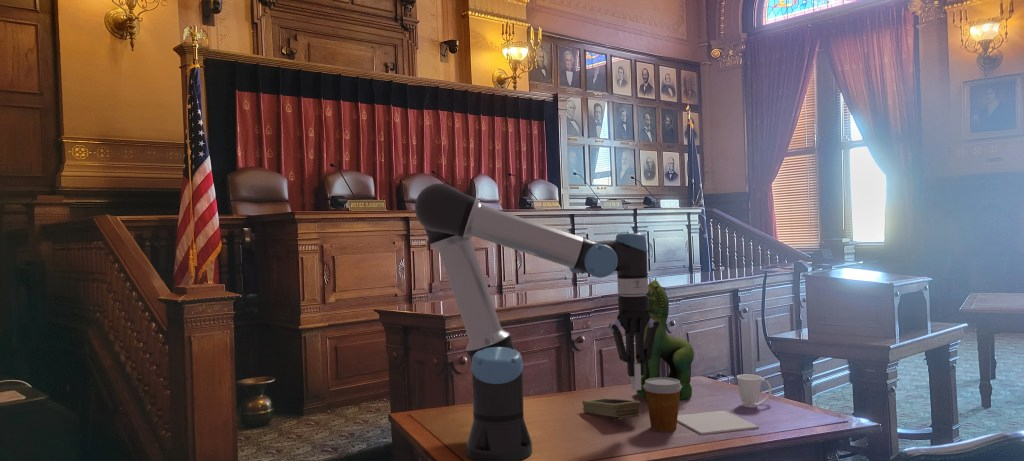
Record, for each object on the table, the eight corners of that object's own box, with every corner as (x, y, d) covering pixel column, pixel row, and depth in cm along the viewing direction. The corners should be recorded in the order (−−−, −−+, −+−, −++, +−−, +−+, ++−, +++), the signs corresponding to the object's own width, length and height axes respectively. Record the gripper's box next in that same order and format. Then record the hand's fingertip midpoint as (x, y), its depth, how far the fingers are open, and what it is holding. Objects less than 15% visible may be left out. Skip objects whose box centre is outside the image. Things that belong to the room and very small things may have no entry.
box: (616, 424, 182) (614, 404, 183) (576, 418, 202) (574, 400, 203) (644, 420, 185) (642, 400, 186) (601, 415, 205) (600, 397, 206)
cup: (732, 403, 205) (731, 374, 205) (765, 400, 206) (764, 372, 206) (743, 409, 198) (743, 380, 198) (777, 407, 199) (777, 377, 199)
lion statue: (631, 393, 219) (628, 279, 219) (682, 390, 222) (679, 277, 222) (646, 404, 206) (643, 282, 205) (701, 400, 209) (698, 280, 208)
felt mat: (701, 434, 176) (701, 432, 176) (670, 418, 191) (670, 416, 191) (758, 428, 180) (758, 426, 180) (724, 412, 195) (724, 410, 195)
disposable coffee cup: (639, 431, 180) (638, 383, 180) (650, 421, 188) (649, 375, 188) (677, 435, 176) (676, 386, 175) (687, 425, 184) (686, 378, 184)
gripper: (614, 297, 174) (617, 394, 175) (663, 294, 178) (666, 389, 178) (603, 295, 182) (606, 388, 182) (650, 292, 185) (653, 383, 185)
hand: (636, 388), depth 180 cm, fingers closed
